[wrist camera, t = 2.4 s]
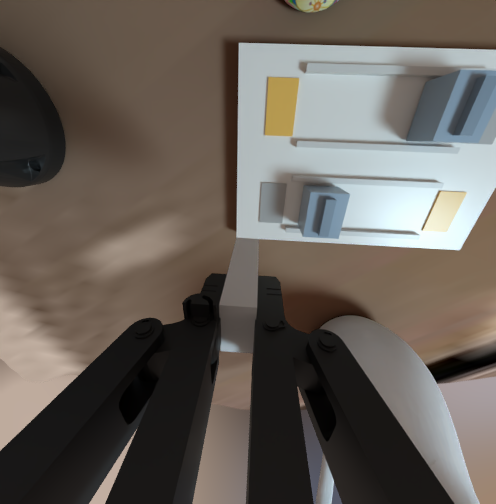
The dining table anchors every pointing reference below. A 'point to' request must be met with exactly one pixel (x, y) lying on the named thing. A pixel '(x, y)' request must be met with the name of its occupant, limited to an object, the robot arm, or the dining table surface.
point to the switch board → (356, 144)
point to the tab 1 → (322, 211)
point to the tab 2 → (455, 107)
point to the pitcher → (404, 403)
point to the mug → (310, 4)
